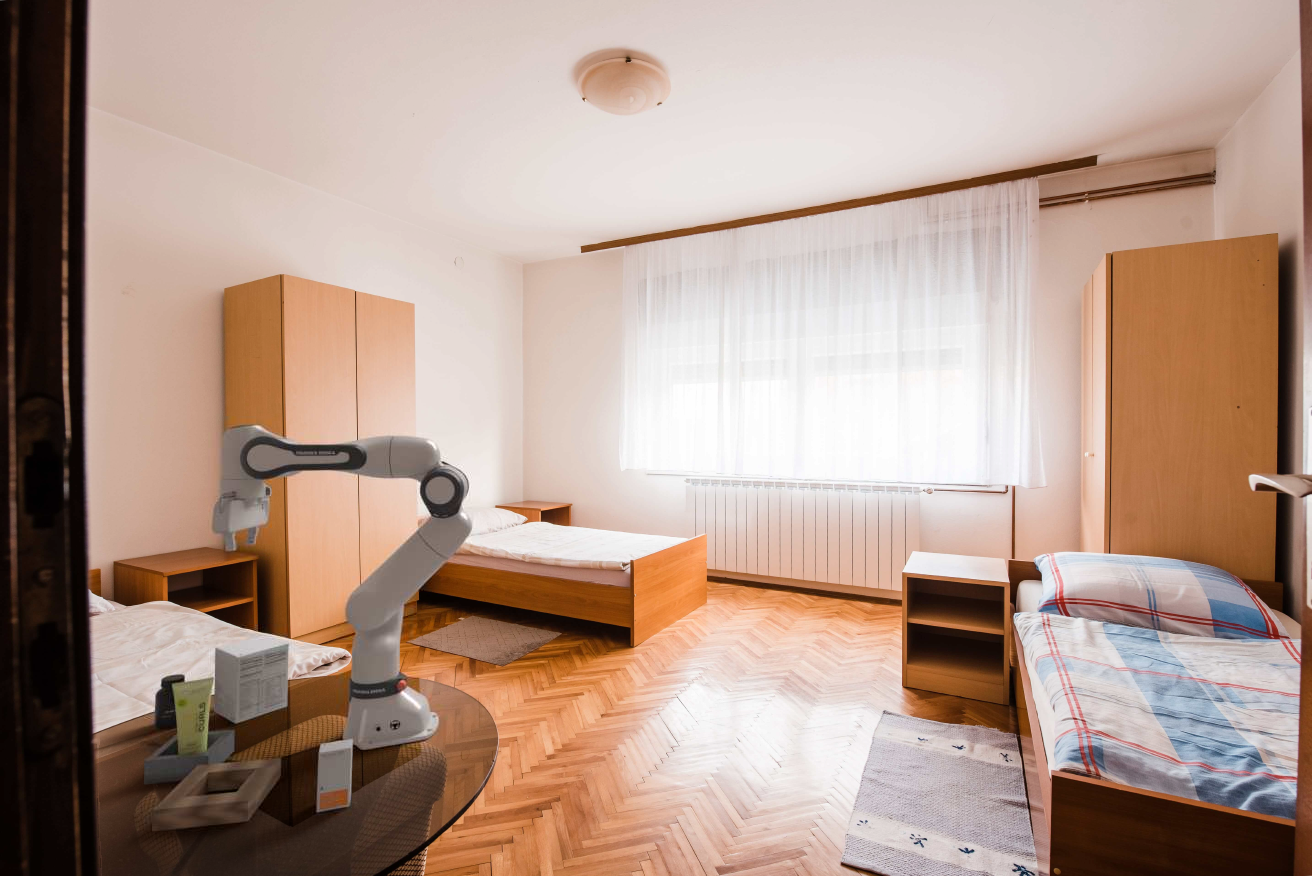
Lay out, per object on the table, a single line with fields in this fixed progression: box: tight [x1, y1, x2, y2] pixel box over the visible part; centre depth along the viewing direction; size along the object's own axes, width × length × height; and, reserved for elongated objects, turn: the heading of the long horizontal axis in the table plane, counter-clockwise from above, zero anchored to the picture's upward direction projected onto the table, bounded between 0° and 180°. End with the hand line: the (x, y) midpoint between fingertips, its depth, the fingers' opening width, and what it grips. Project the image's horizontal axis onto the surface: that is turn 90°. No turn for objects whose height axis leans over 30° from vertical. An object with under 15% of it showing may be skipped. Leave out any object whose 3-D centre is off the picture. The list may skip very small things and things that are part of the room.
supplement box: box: [213, 635, 290, 724], centre depth 164 cm, size 13×13×18 cm
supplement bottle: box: [153, 673, 186, 730], centre depth 155 cm, size 7×7×12 cm
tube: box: [172, 676, 215, 755], centre depth 135 cm, size 6×5×20 cm
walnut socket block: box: [151, 757, 282, 832], centre depth 122 cm, size 16×16×4 cm
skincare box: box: [316, 739, 354, 813], centre depth 122 cm, size 6×4×12 cm
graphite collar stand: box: [143, 729, 236, 785], centre depth 135 cm, size 12×12×5 cm
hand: (241, 547), depth 146 cm, fingers open, 8 cm apart
